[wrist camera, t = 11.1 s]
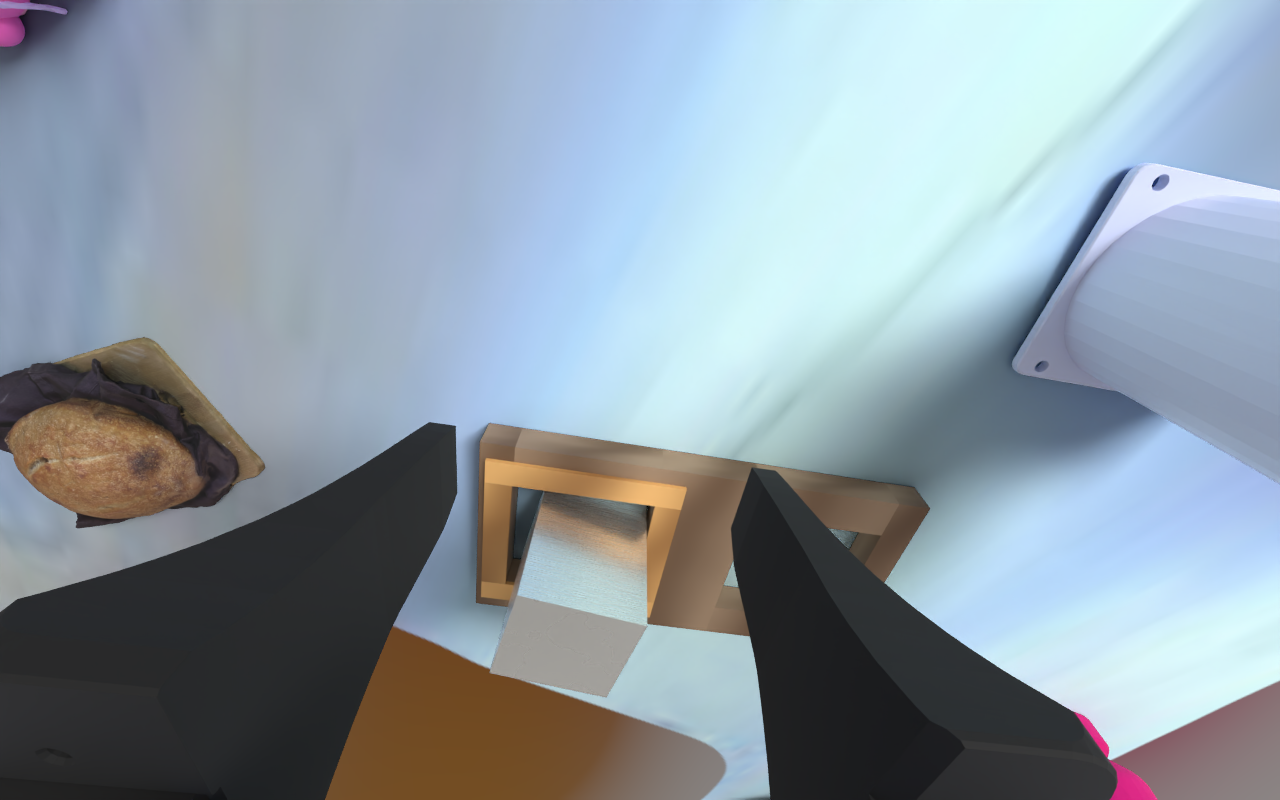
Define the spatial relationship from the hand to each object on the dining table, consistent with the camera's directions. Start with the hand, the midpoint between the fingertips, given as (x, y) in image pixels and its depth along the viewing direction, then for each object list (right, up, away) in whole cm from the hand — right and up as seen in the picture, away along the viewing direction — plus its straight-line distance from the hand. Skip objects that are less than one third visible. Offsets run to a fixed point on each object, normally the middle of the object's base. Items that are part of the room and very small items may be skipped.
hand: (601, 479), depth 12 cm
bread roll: (-23, +1, +12) cm, 26 cm away
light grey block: (-2, -4, +13) cm, 14 cm away
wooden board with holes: (+3, -5, +14) cm, 15 cm away
